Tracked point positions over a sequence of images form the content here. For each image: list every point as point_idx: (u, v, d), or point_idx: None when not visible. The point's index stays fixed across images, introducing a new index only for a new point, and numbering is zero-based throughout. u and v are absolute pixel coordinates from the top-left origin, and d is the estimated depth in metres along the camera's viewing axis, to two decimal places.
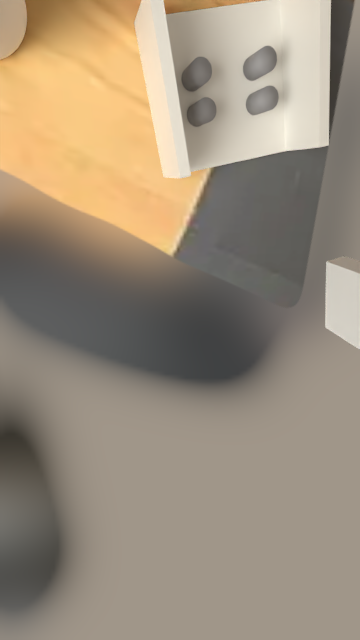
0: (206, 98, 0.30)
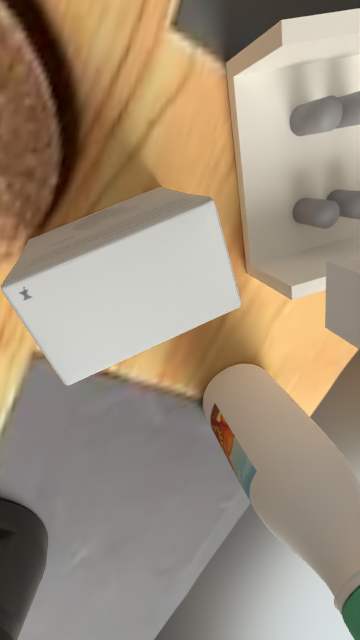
0: (352, 206, 0.24)
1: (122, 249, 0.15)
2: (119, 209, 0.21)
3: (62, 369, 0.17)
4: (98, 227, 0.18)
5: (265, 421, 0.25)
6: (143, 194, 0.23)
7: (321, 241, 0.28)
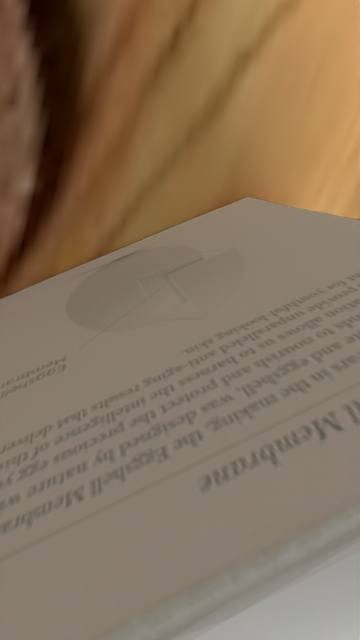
0: None
1: (327, 590, 0.03)
2: (180, 256, 0.09)
3: None
4: (143, 336, 0.06)
5: None
6: (218, 214, 0.11)
7: None
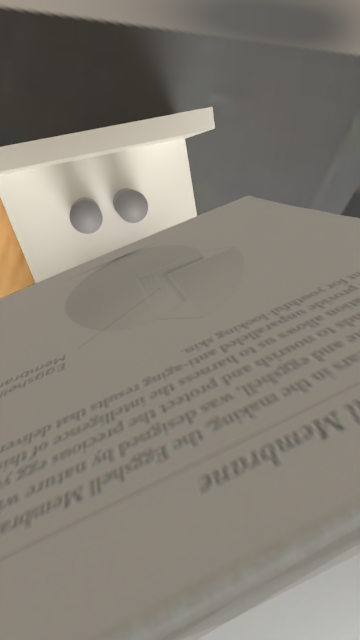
0: None
1: (327, 592, 0.03)
2: (180, 255, 0.09)
3: None
4: (142, 335, 0.06)
5: None
6: (218, 213, 0.11)
7: None
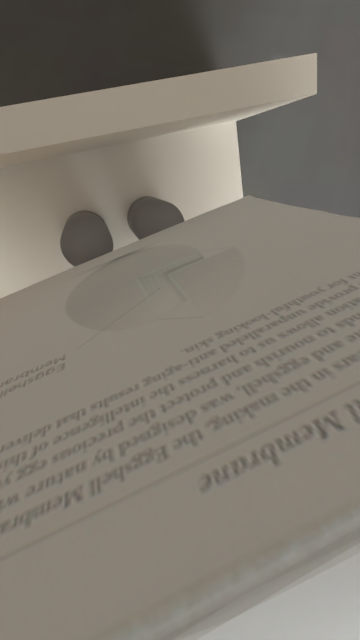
0: None
1: (328, 592, 0.03)
2: (180, 255, 0.09)
3: None
4: (143, 335, 0.06)
5: None
6: (218, 213, 0.11)
7: None
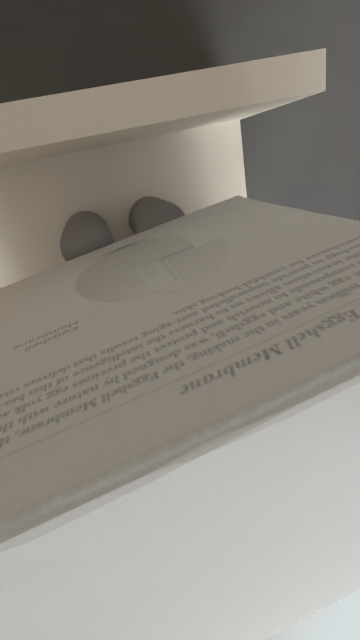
0: None
1: (261, 450, 0.04)
2: (174, 244, 0.10)
3: None
4: (141, 304, 0.07)
5: None
6: (210, 210, 0.12)
7: None
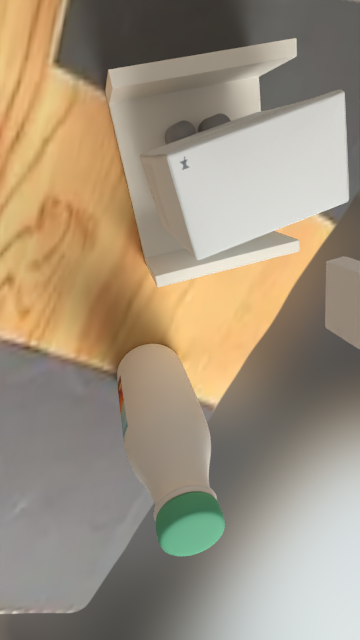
0: None
1: (265, 130, 0.17)
2: (230, 122, 0.23)
3: (197, 243, 0.19)
4: (225, 127, 0.21)
5: (145, 387, 0.30)
6: (244, 117, 0.26)
7: None
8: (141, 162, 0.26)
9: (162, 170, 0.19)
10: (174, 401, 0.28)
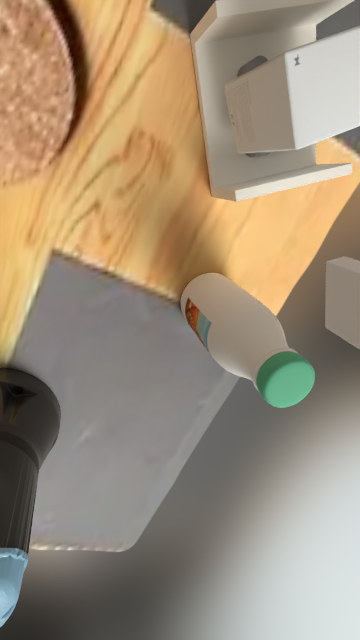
0: None
1: (357, 35, 0.22)
2: None
3: (298, 133, 0.24)
4: None
5: (220, 295, 0.35)
6: None
7: (266, 172, 0.38)
8: (225, 90, 0.30)
9: (269, 74, 0.24)
10: (251, 300, 0.33)
